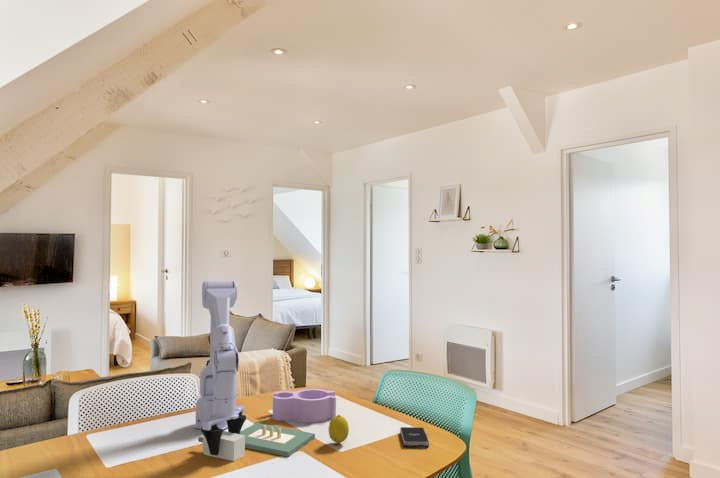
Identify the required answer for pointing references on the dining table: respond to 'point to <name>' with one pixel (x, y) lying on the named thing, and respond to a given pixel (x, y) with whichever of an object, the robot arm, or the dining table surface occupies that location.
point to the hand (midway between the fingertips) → (223, 448)
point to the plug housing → (227, 446)
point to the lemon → (338, 429)
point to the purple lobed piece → (304, 405)
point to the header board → (275, 439)
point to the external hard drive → (414, 437)
